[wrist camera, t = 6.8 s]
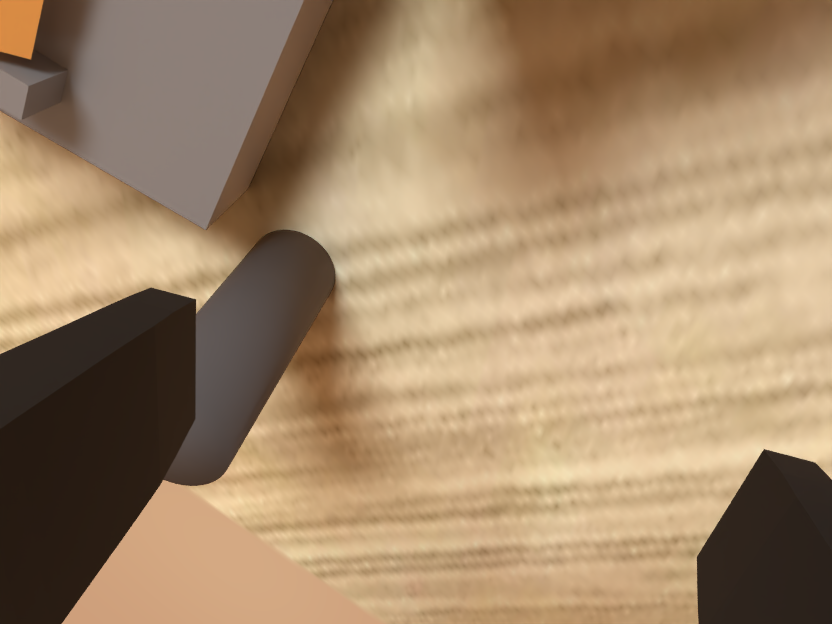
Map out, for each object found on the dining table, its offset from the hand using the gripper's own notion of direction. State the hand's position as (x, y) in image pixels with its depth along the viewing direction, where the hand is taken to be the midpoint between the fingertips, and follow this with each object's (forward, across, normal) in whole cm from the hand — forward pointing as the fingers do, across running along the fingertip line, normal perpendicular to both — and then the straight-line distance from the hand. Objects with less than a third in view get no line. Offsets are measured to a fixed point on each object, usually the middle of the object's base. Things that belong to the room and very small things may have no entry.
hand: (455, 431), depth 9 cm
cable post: (+9, +5, +4) cm, 12 cm away
